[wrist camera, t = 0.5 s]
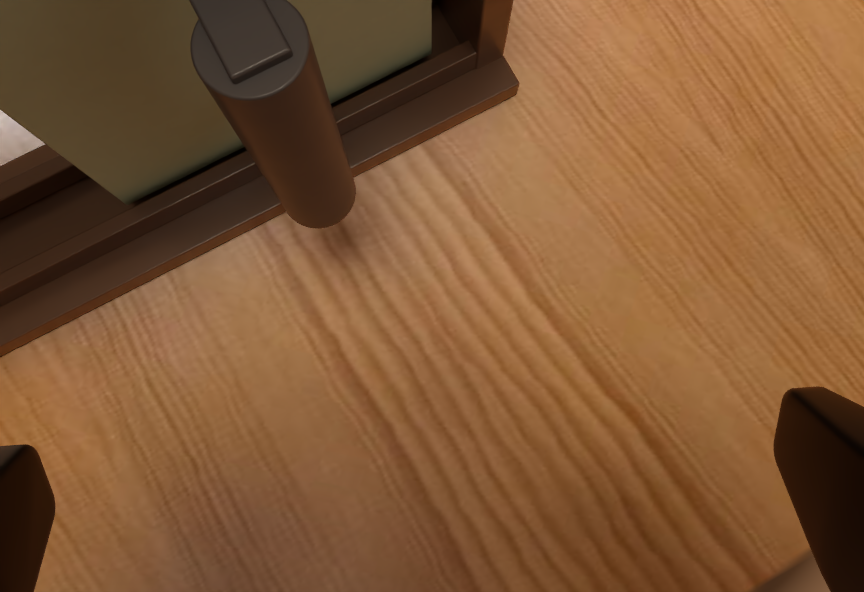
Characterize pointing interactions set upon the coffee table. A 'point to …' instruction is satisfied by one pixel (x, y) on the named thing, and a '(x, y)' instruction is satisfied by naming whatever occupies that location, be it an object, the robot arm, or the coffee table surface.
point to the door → (204, 86)
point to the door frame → (220, 183)
